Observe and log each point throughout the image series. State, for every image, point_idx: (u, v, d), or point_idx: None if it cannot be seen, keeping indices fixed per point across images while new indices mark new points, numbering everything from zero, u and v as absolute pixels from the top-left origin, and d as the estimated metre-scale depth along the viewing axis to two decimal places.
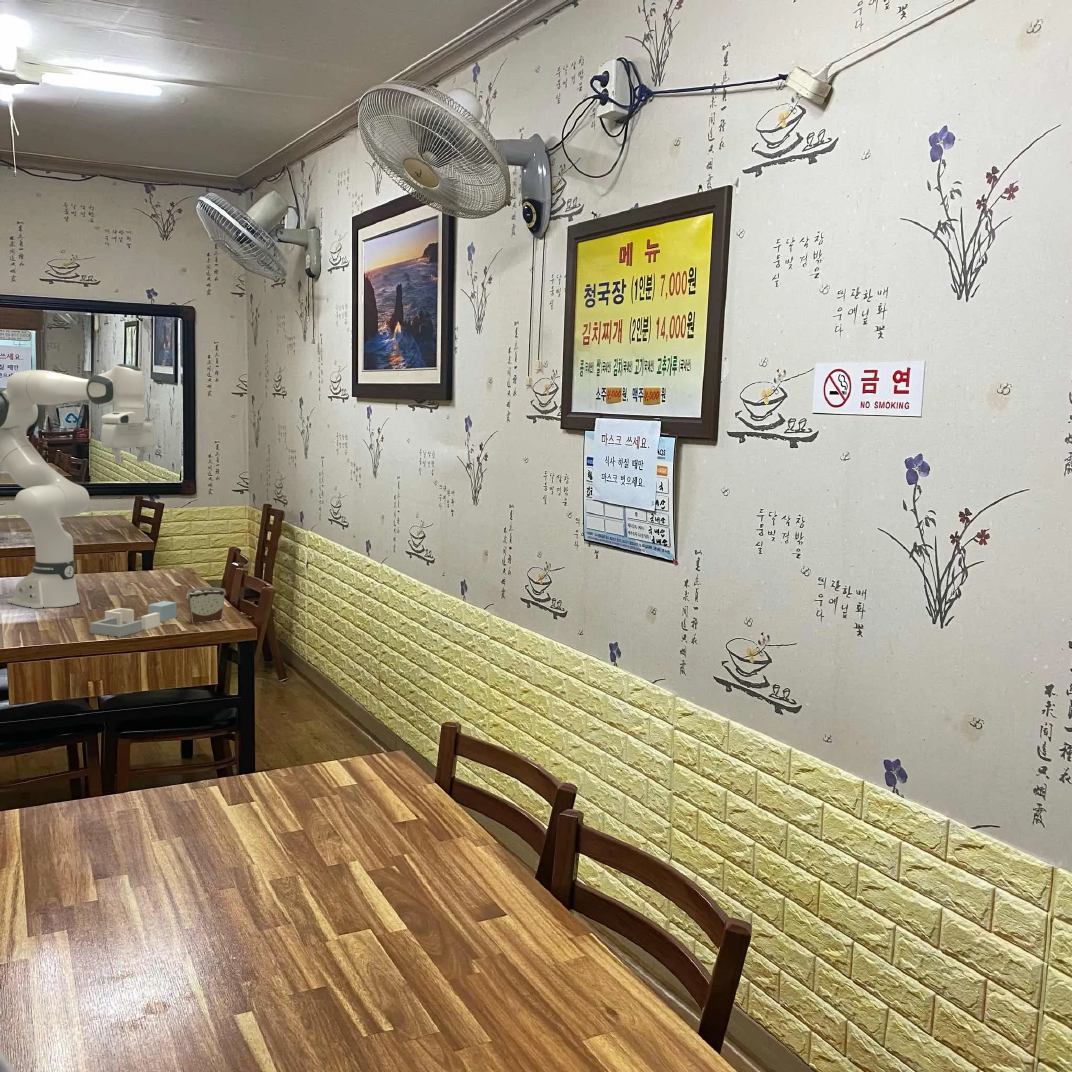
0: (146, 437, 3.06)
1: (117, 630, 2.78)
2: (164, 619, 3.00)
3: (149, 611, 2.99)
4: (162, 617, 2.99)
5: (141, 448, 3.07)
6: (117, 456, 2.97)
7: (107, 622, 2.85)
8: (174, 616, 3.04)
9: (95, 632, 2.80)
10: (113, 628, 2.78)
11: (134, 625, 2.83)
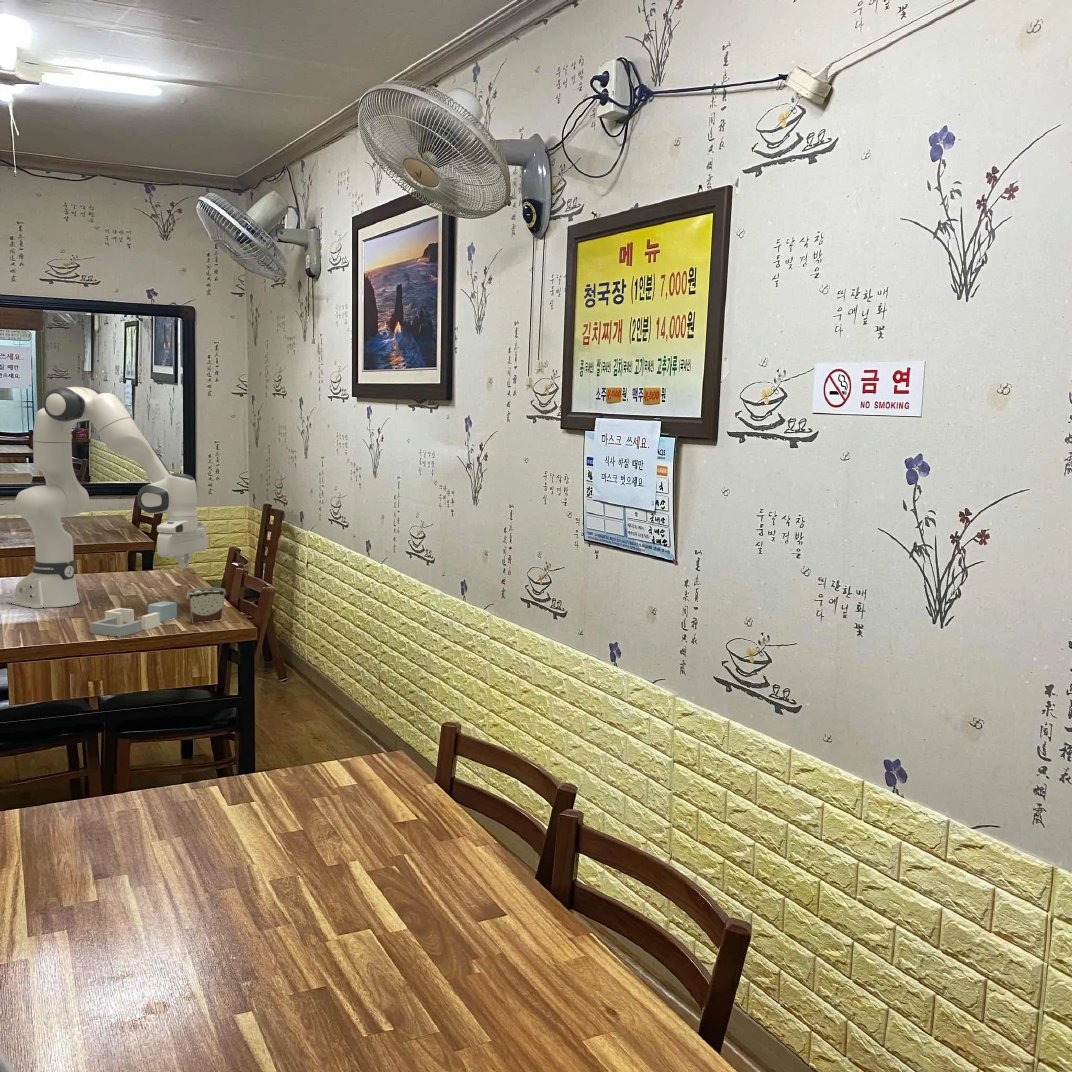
0: (198, 542, 3.13)
1: (117, 630, 2.78)
2: (164, 619, 2.99)
3: (149, 611, 2.99)
4: (162, 617, 2.99)
5: (186, 554, 3.10)
6: (180, 562, 3.08)
7: (107, 622, 2.85)
8: (174, 616, 3.04)
9: (95, 632, 2.80)
10: (113, 628, 2.78)
11: (134, 625, 2.83)
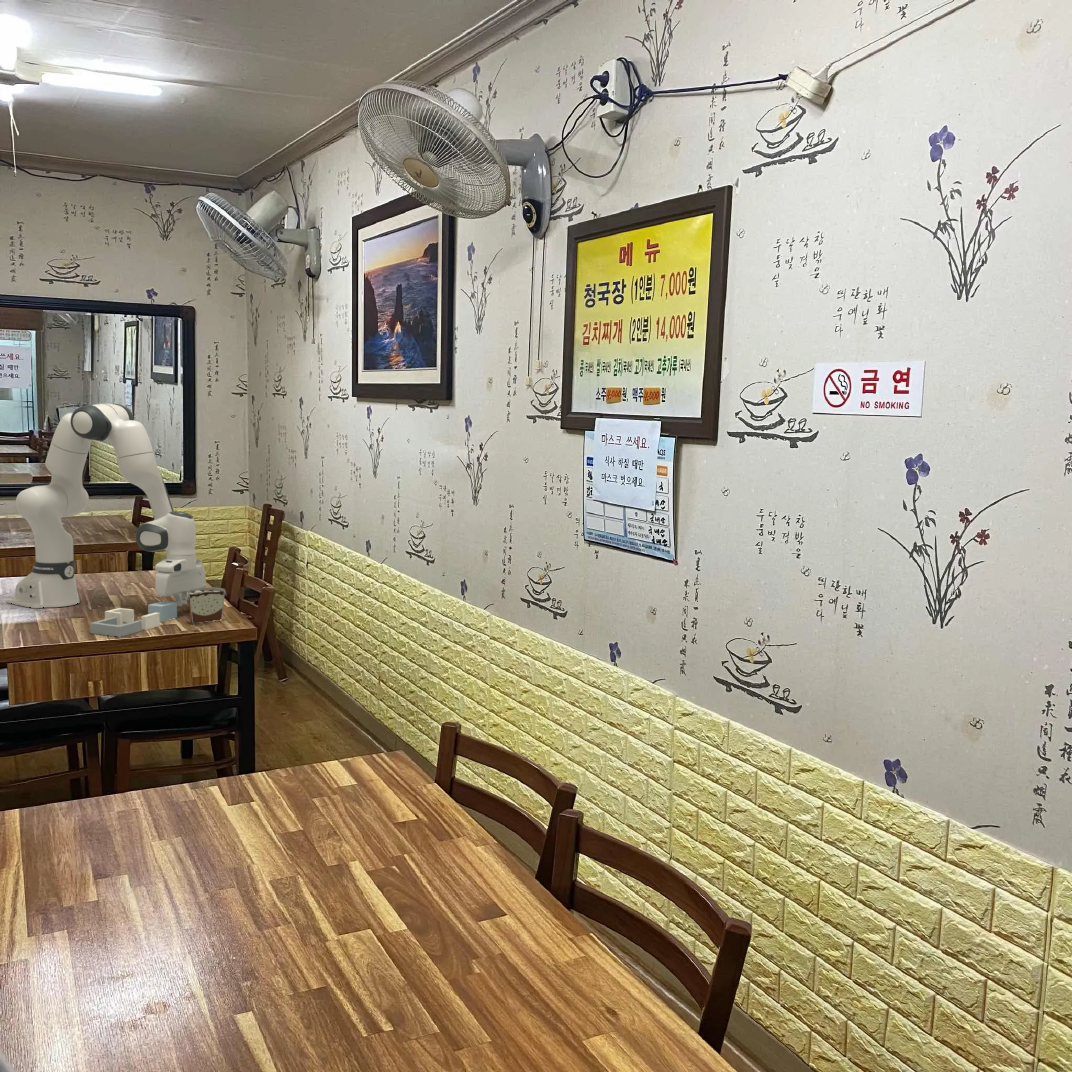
0: (197, 579, 3.14)
1: (117, 630, 2.78)
2: (164, 619, 2.99)
3: (149, 611, 2.99)
4: (162, 617, 2.99)
5: (184, 592, 3.11)
6: (178, 600, 3.09)
7: (107, 622, 2.85)
8: (174, 616, 3.04)
9: (95, 632, 2.80)
10: (113, 628, 2.78)
11: (134, 625, 2.83)
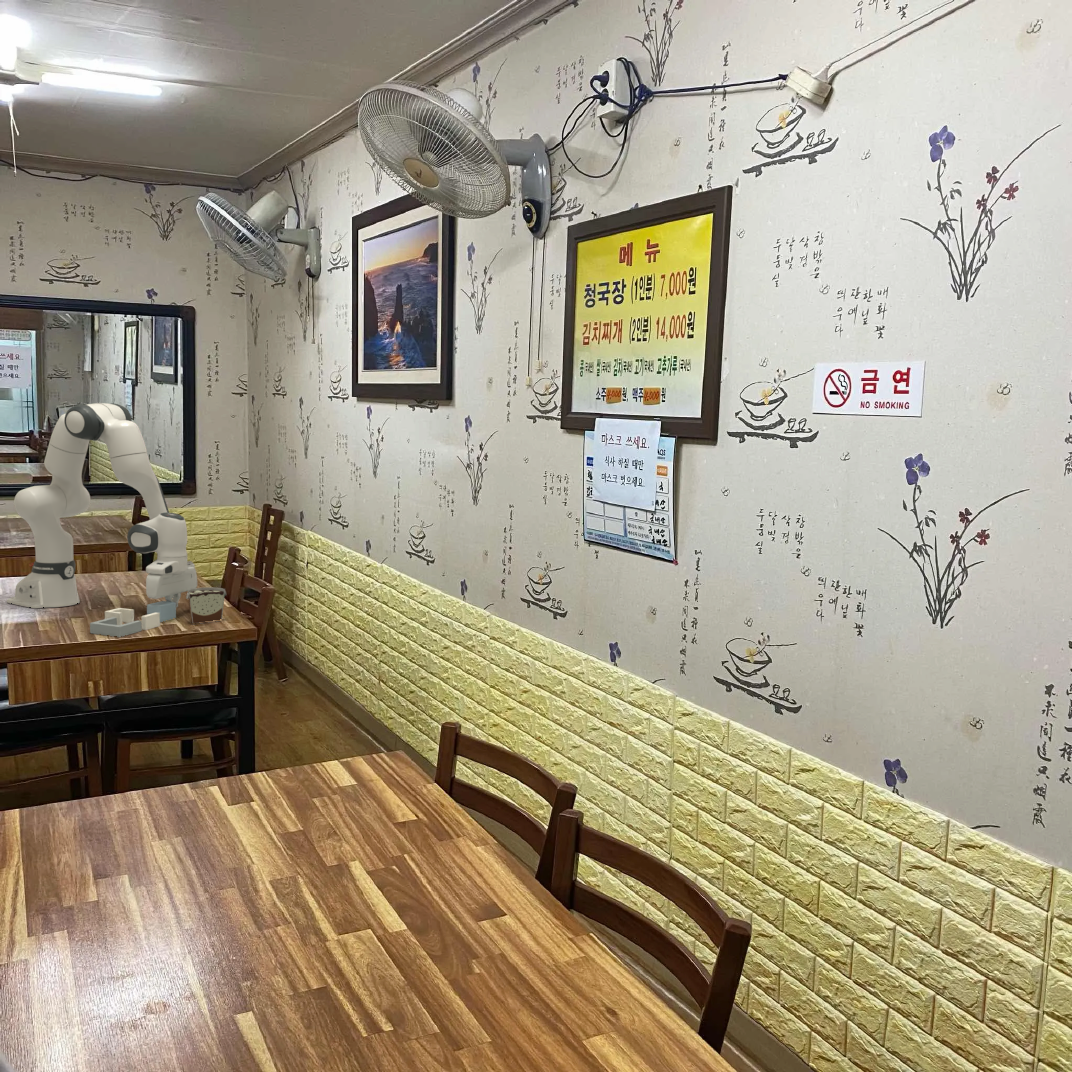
0: (188, 581, 3.10)
1: (117, 630, 2.78)
2: (163, 619, 2.99)
3: (148, 611, 2.99)
4: (161, 617, 2.98)
5: (175, 594, 3.07)
6: None
7: (107, 622, 2.85)
8: (173, 616, 3.03)
9: (95, 632, 2.80)
10: (113, 628, 2.78)
11: (134, 625, 2.83)
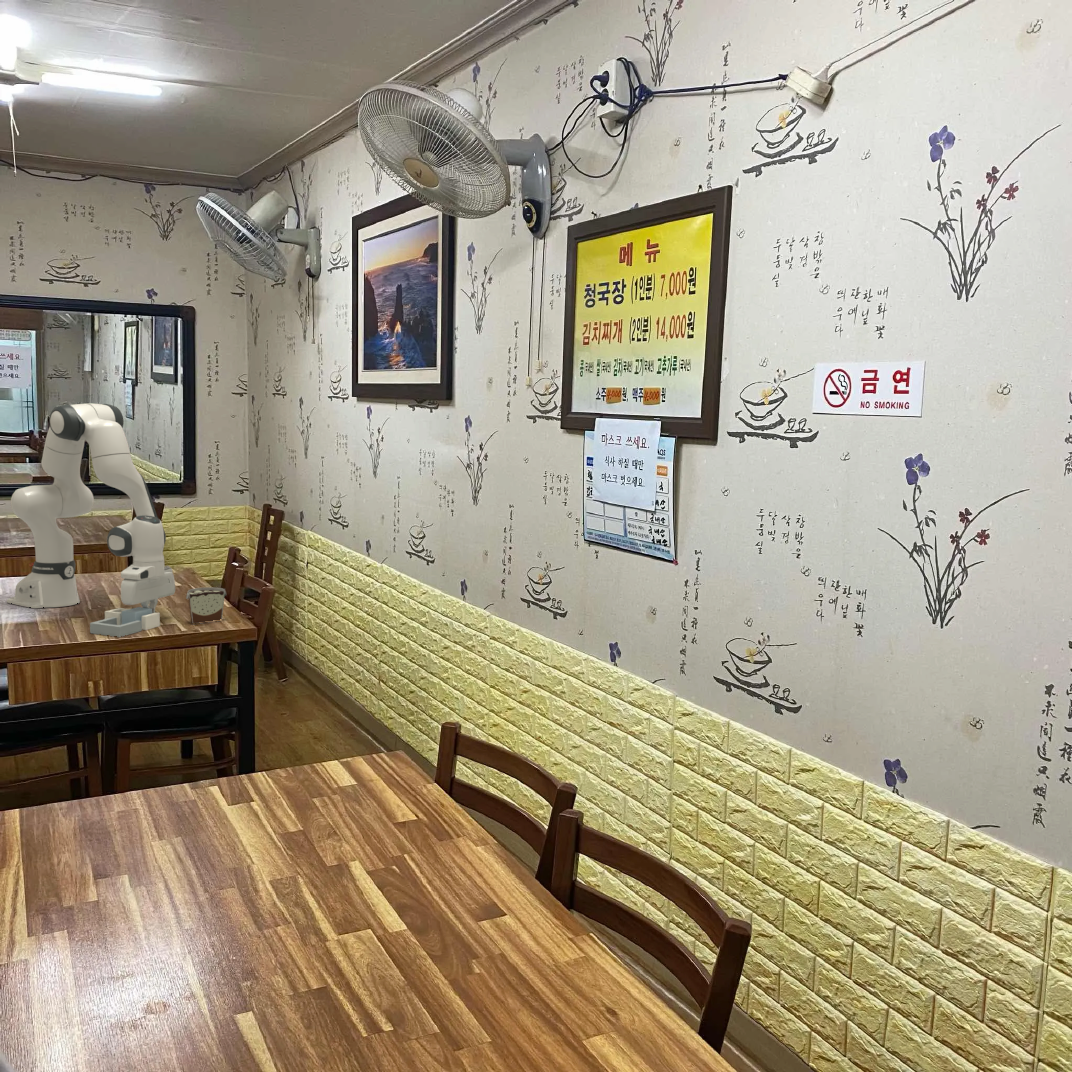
0: (165, 587, 3.00)
1: (117, 630, 2.78)
2: None
3: (123, 617, 2.89)
4: None
5: (151, 600, 2.97)
6: None
7: (107, 622, 2.85)
8: None
9: (95, 632, 2.80)
10: (113, 628, 2.78)
11: (134, 625, 2.83)
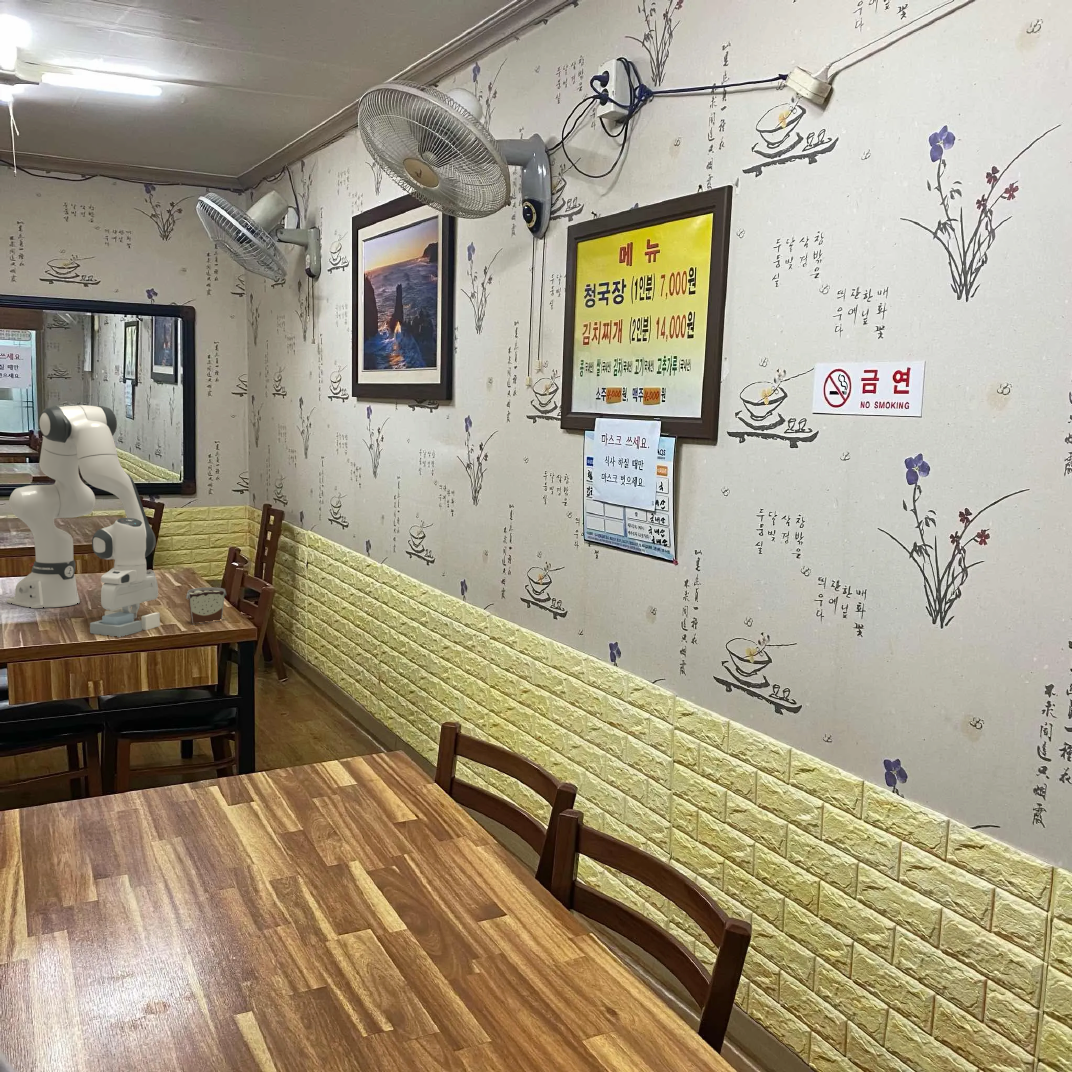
0: (148, 591, 2.93)
1: (117, 630, 2.78)
2: None
3: None
4: None
5: (133, 604, 2.90)
6: None
7: None
8: None
9: (95, 632, 2.80)
10: (113, 628, 2.78)
11: (134, 625, 2.83)
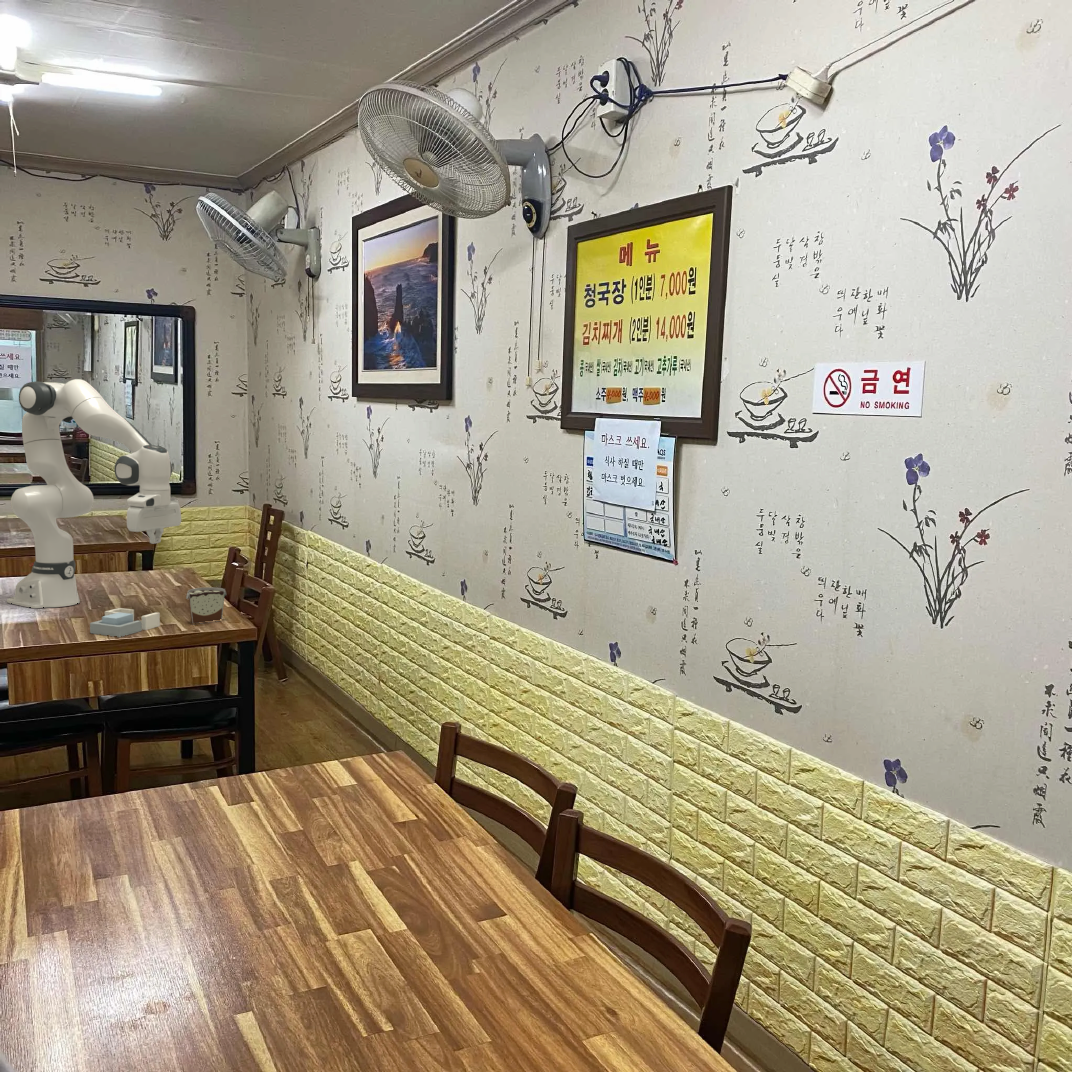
0: (171, 517, 3.04)
1: (117, 630, 2.78)
2: None
3: None
4: None
5: (157, 529, 3.01)
6: (151, 537, 2.99)
7: None
8: None
9: (95, 632, 2.80)
10: (113, 628, 2.78)
11: (134, 625, 2.83)
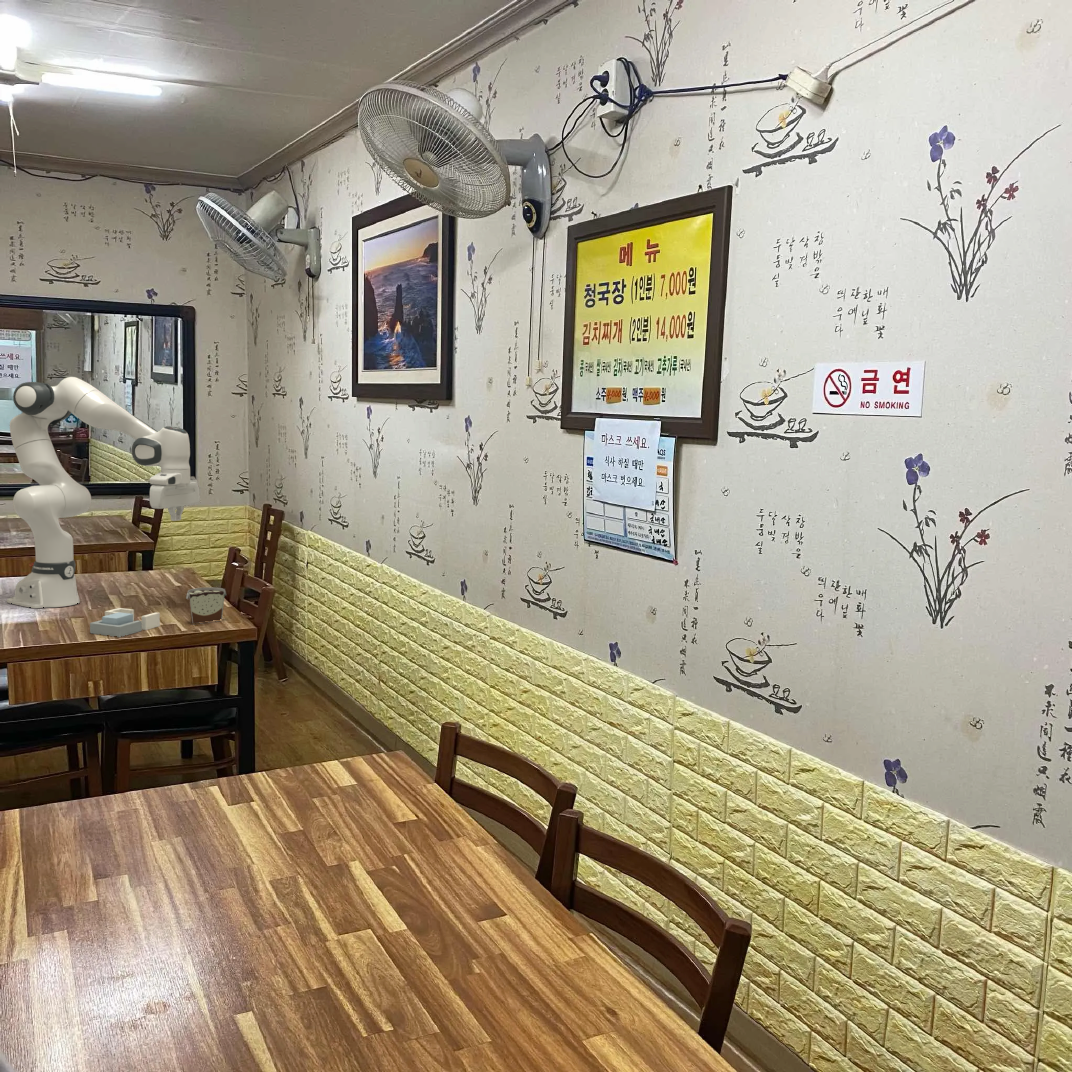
0: (191, 495, 3.17)
1: (117, 630, 2.78)
2: None
3: None
4: None
5: (178, 507, 3.14)
6: (173, 514, 3.12)
7: None
8: None
9: (95, 632, 2.80)
10: (113, 628, 2.78)
11: (134, 625, 2.83)
